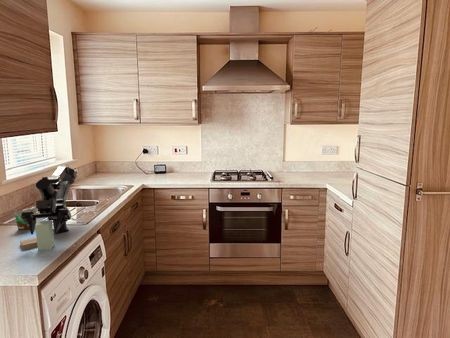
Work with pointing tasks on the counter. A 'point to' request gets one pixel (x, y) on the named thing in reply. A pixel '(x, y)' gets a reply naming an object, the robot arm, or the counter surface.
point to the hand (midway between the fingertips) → (43, 233)
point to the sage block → (44, 235)
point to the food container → (19, 220)
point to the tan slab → (28, 243)
